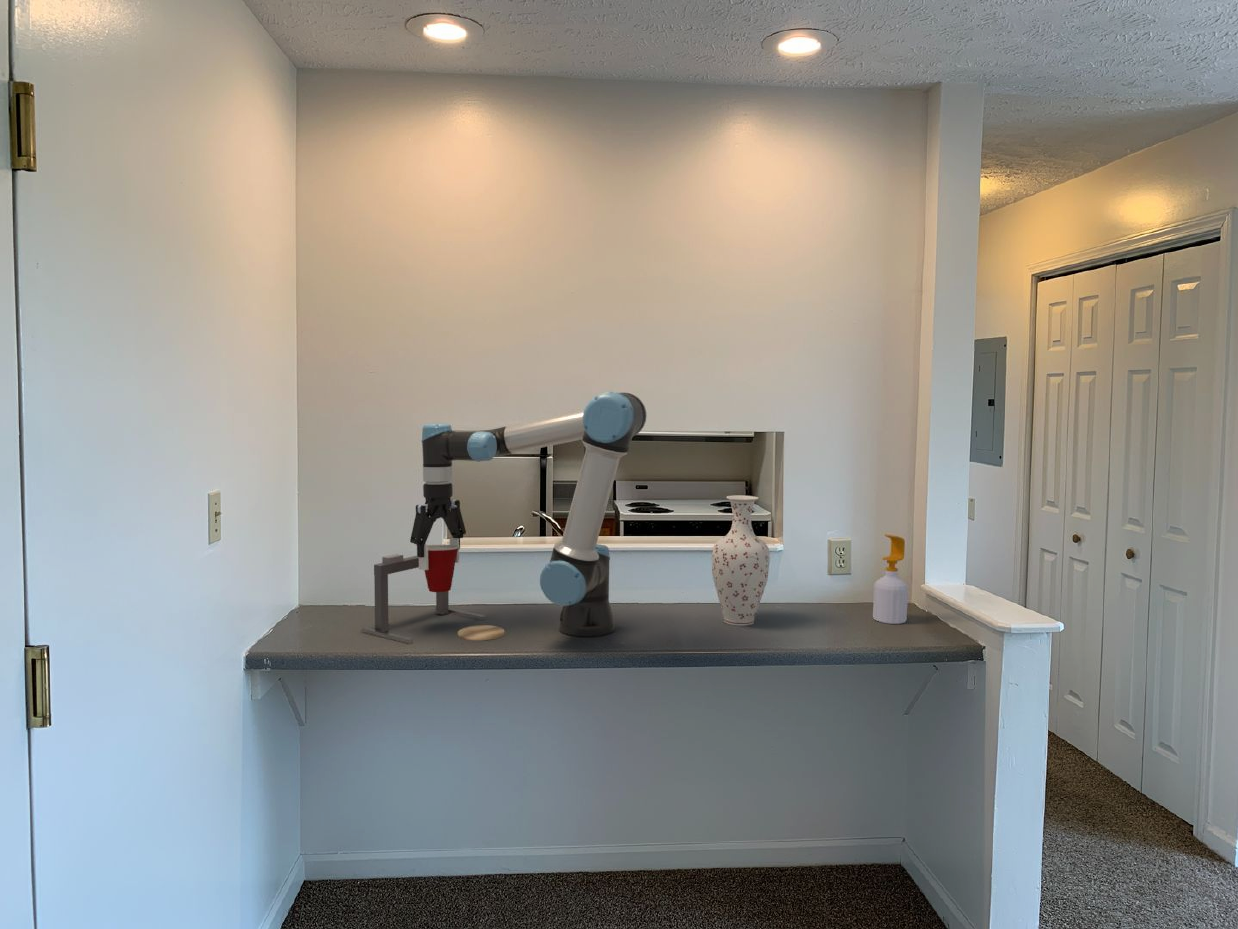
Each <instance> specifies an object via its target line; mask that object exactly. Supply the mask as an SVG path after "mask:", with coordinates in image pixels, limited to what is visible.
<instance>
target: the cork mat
mask: <svg viewBox="0 0 1238 929" xmlns="http://www.w3.org/2000/svg"><path fill="white" fill-rule="evenodd" d="M504 635H505V629H504V628H502V627H499V626H495V625H488V624H480V625H479V624H478V625H470V626H466V627H463V628H460V629H459V630H458V631H457V636H458V637H459V638H460V639H462V640H467V641H473V642H474V641H475V642H477V641H480V642H481V641H493V640H497V639H500V638H502V637H503V636H504Z"/></svg>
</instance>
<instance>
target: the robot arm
mask: <svg viewBox="0 0 1238 929" xmlns="http://www.w3.org/2000/svg"><path fill="white" fill-rule="evenodd" d="M646 422H647V409H646V406H645V405H644V402H643V401H642V400H641V399H640V398H639V397H638V396H636V395H635V394H632V393H629V392H614V391H607V392H603V393H601V394H599V395H596V396H594V397H593V398H591V399H590V401H588V402H587V404H586V405H585V408H584V409H580V410H577V411H572V412H567V413H562V414H558V415H553V416H549V417H543V418H540V419H539V418H538V419H535V420H531V421H529V420H528V421H526V422H521V423H516V424H511V425H507V426H501V427H497V428H496V427H495V428H491V429H486V430H485V429H483V430H476V431H475V430H474V431H456V430H453V428H452V425H451V424H450V423H440V422H439V423H426V424H424V425H423V426H422V430H421V431H422V433H421V438H422V439H421V444H422V480H423V482H425V483H424V484H422V488H423V489H422V492H423V494H422V497H423V498H424V499H425V502H424V504H416V505H415V517H414V522H413V525H412V532H411V535H410V538H409V542H410V543H411V544H414V545H416V556H418V557H419V567H418V569H419V570H422V571H425V570H428V545H429V544H426V543H427V540H428V538H429V536H430V533H431V531H432V528H433V526H434V523H435V522H436V521H437V520H438V519H442V520H443V522H444V524H445V526H446V527H447V529H448V531H449V533H450V535H451V537H449V545H458V546H460V547H459V548H458V551H457V555H456V560H455V564H456V563H457V564H458V563H460V549H461V539H463V537H464V535H466V533H467V530H466V527H465V522H464V519H463V515H462V512H461V511H462V510H461V501H460V500H459V499H451V498H452V497H453V492H454V491H453V483H452V481H453V461H467V462H489V461H492V460H493V459H494V458H500V457H504V456H508V455H511V454H516V453H521V452H526V451H530V450H535V449H541V448H546V447H550V446H551V447H552V446H557V445H561V444H566V443H572V442H575V441H581V442H582V444H583V446H584V447H585V452H584V456H583V460H582V464H581V467H580V471H579V474H578V479H577V481H576V482H577V483H576V487H575V489H574V493H573V498H572V500H571V504H570V509H569V511H568V515H567V519H566V523H565V527H564V532H563V534H562V539H561V540H560V541H557V542H556V543H555V544H554V545H553V549H552V552H551V556H550V561H549V562H548V563H546V565H545V566H544V567H543V568H542V570H541V573H540V576H539V585H540V586H539V587H540V590H541V591H542V592H543V595H544V596H545V597H546V599H548V600H549V601H550V602H552V603H553V604H555V605H558V606H562V609H561V613H560V616H559V619H558V631H560V632H561V633H563V634H566V635H569V636H575V637H599V636H605V635H608V634H611V633H613V632H614V631H615V629H616V620H615V617H614V614H613V611H612V610H613V609H612V607H611V606H612V605H611V603H610V597H609V596H610V595H609V594H610V560H611V556H610V548H609V547H608V546H607V545H604V544H597V543H598V540H599V536H600V532H601V528H602V526H603V521H604V519H605V514H606V510H607V506H608V503H609V499H610V496H611V492H612V489H613V485H614V481H615V478H616V473H617V471H618V466H619V464H620V463H619V462H620V460H621V458H622V457H623V456H626V455H627V454H628V453H629V450H630V445H631V444H632V439H633V437H634V436H637V435H638V434H639V433H640V432H641V431H642V429H644V427H645V424H646Z"/></svg>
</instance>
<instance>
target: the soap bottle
mask: <svg viewBox="0 0 1238 929" xmlns="http://www.w3.org/2000/svg"><path fill="white" fill-rule="evenodd" d="M884 536H885V537H886V538H888V539H890V555H889V556H884V557H882V560H883V561H886V563H887V564H888V566H887V567H885V575H884V576H882V577H880V578H878V579H877V580H876V581H875V582H874V584H873V603H872V605H873V607H872V608H873V609H872V618H873V620H874V621H877V622H878V621H879V623H882V624H890V625H899V624H900V625H901V624H905V623H906V622H907V616H908V598H909V597H908V595H909V587H908V584H907V582H905V580H904V579H902V578H900V577H899V575H898V574H899V571H898V570H899V568H897V567H896V565H897V564H898V562H900V561H903V560H904V559H905V558H904V557H905V546H906V541H905V538H902V537H900V536H898V535H893V534H886V533H885V534H884Z"/></svg>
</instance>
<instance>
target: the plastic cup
mask: <svg viewBox="0 0 1238 929" xmlns="http://www.w3.org/2000/svg"><path fill="white" fill-rule="evenodd" d="M427 545H428V570H424V574H425V579H426V583H427V584H426V585H427V589H428V591H429V592H430V593H436V592H446V591H451V588H452V585H453V578H454V573H455V567H456V563H455V560H456V555H457V551H458V548H459V547H460V548H461V545H460V546H458V545H450V544H427Z"/></svg>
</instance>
